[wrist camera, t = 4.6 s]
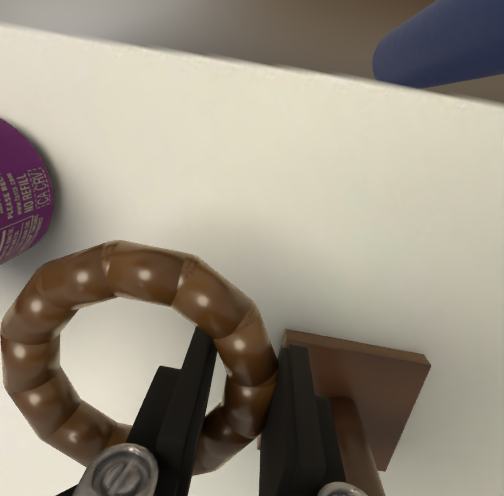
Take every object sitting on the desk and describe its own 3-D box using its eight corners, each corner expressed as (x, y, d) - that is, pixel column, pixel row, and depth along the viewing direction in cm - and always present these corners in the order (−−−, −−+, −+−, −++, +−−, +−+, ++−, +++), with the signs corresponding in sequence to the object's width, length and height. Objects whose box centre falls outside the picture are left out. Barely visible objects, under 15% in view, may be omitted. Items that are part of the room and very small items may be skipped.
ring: (18, 210, 10) (-22, 226, 8) (302, 267, 10) (307, 291, 8) (26, 427, 12) (-3, 465, 11) (249, 469, 12) (246, 511, 11)
